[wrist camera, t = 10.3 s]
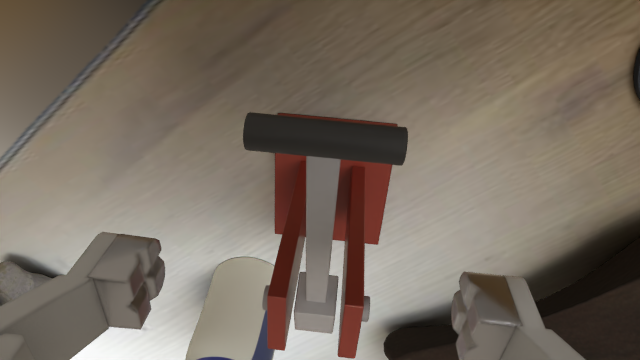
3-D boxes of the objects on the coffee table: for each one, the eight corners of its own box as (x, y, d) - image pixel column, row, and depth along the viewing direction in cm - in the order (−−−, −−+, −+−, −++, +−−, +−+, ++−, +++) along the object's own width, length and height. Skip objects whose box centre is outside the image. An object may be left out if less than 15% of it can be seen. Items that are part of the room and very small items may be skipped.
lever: (253, 91, 14) (236, 147, 13) (407, 106, 14) (408, 164, 13) (277, 288, 27) (271, 326, 26) (358, 297, 27) (356, 336, 25)
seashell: (-18, 270, 46) (-56, 307, 42) (27, 240, 43) (-9, 277, 39) (72, 334, 51) (46, 373, 47) (118, 311, 48) (95, 351, 44)
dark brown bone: (686, 200, 36) (394, 291, 50) (735, 240, 27) (360, 338, 41) (746, 320, 36) (436, 378, 50) (816, 401, 27) (411, 445, 40)
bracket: (277, 112, 33) (224, 243, 21) (397, 123, 33) (415, 264, 20) (276, 225, 39) (235, 378, 27) (377, 235, 39) (382, 396, 26)
